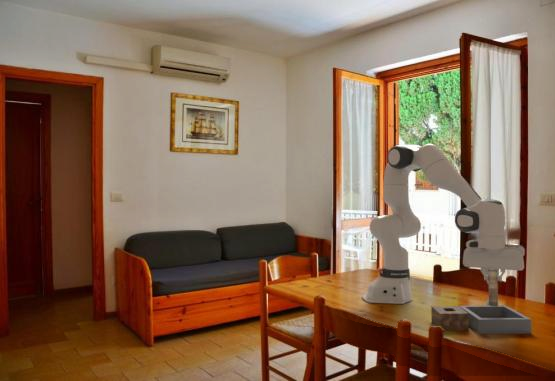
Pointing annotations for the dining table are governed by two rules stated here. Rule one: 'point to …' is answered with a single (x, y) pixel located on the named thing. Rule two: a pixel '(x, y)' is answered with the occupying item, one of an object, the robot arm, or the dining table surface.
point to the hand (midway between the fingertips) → (493, 280)
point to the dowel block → (450, 317)
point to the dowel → (493, 287)
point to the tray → (497, 320)
